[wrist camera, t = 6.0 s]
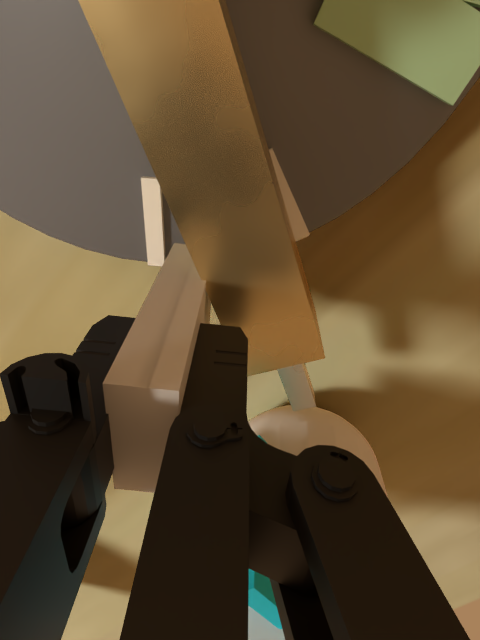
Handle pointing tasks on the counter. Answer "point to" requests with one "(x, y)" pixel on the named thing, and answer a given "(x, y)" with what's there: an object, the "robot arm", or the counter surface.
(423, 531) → the counter surface
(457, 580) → the counter surface
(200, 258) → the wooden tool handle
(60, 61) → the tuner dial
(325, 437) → the mug
